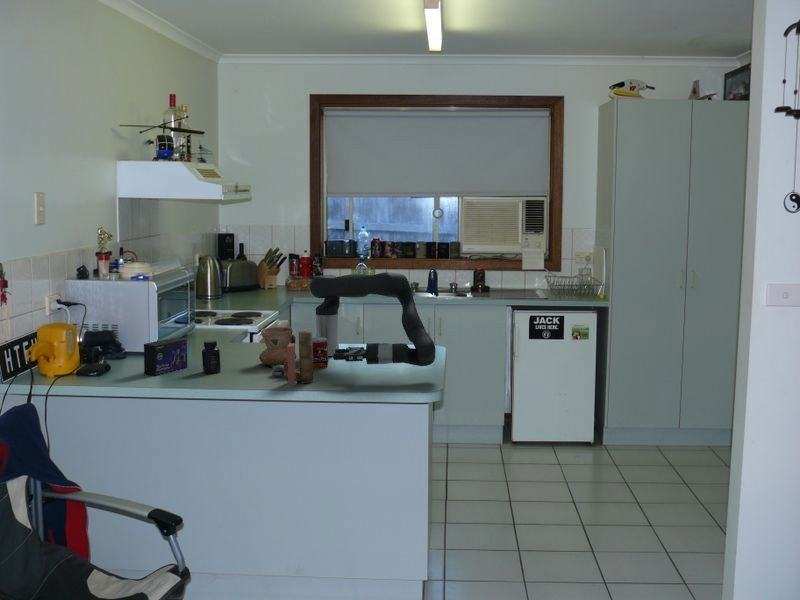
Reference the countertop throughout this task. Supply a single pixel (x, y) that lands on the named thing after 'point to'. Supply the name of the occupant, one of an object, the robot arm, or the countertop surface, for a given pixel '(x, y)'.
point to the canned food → (320, 352)
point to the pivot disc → (277, 373)
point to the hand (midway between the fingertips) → (334, 354)
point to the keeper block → (291, 365)
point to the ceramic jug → (276, 345)
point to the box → (165, 356)
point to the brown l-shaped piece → (302, 359)
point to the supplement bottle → (211, 358)
